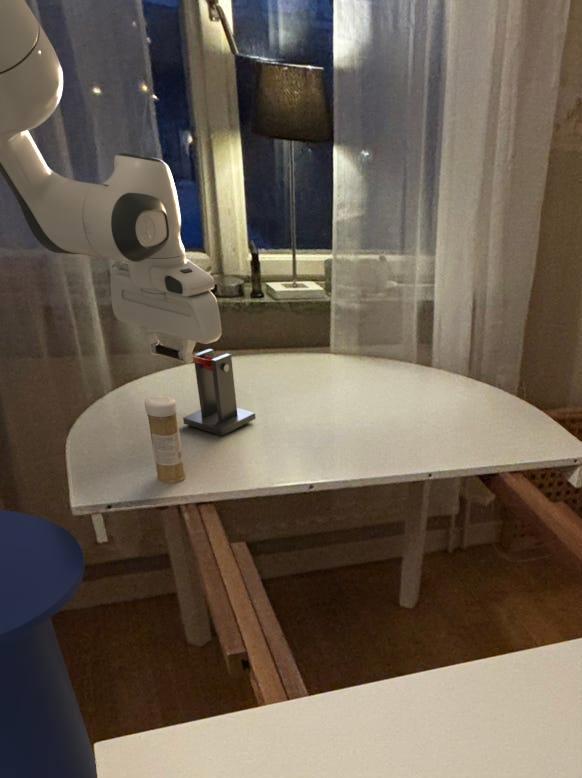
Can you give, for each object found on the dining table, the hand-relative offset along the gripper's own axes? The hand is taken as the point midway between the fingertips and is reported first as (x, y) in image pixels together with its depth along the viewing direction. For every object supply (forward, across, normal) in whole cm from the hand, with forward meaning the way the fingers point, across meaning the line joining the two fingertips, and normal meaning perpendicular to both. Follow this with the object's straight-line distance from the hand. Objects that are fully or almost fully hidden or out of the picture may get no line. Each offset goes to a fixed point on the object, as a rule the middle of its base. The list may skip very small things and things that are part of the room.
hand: (171, 358), depth 131 cm
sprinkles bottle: (+15, +9, -13) cm, 22 cm away
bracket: (+15, 0, +10) cm, 18 cm away
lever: (+3, 0, +5) cm, 5 cm away
